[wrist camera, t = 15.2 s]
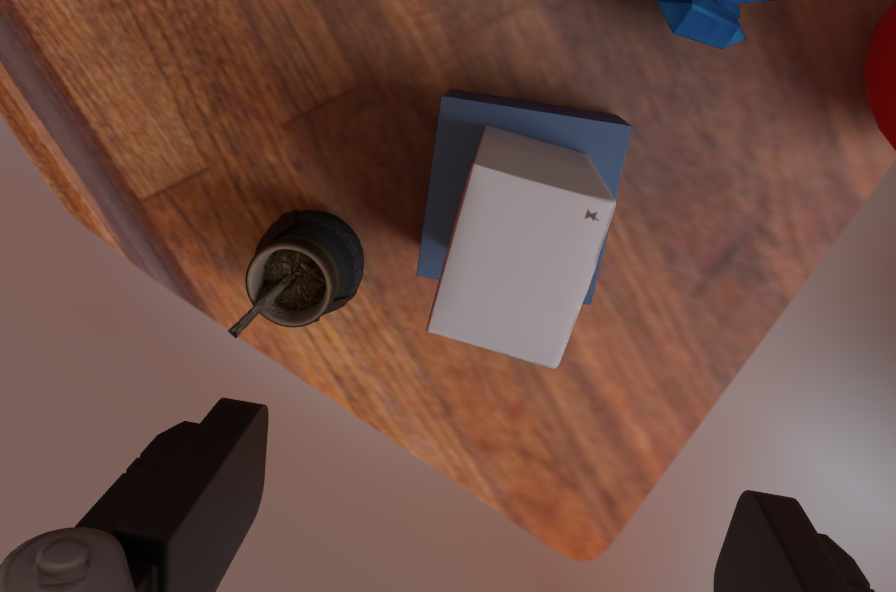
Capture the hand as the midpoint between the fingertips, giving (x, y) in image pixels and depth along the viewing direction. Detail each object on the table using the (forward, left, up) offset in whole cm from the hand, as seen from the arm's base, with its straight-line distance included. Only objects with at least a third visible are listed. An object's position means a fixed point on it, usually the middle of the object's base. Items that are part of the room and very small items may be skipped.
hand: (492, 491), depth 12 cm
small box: (+2, +1, -32) cm, 32 cm away
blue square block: (+2, +1, -38) cm, 38 cm away
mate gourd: (+9, -12, -38) cm, 41 cm away
